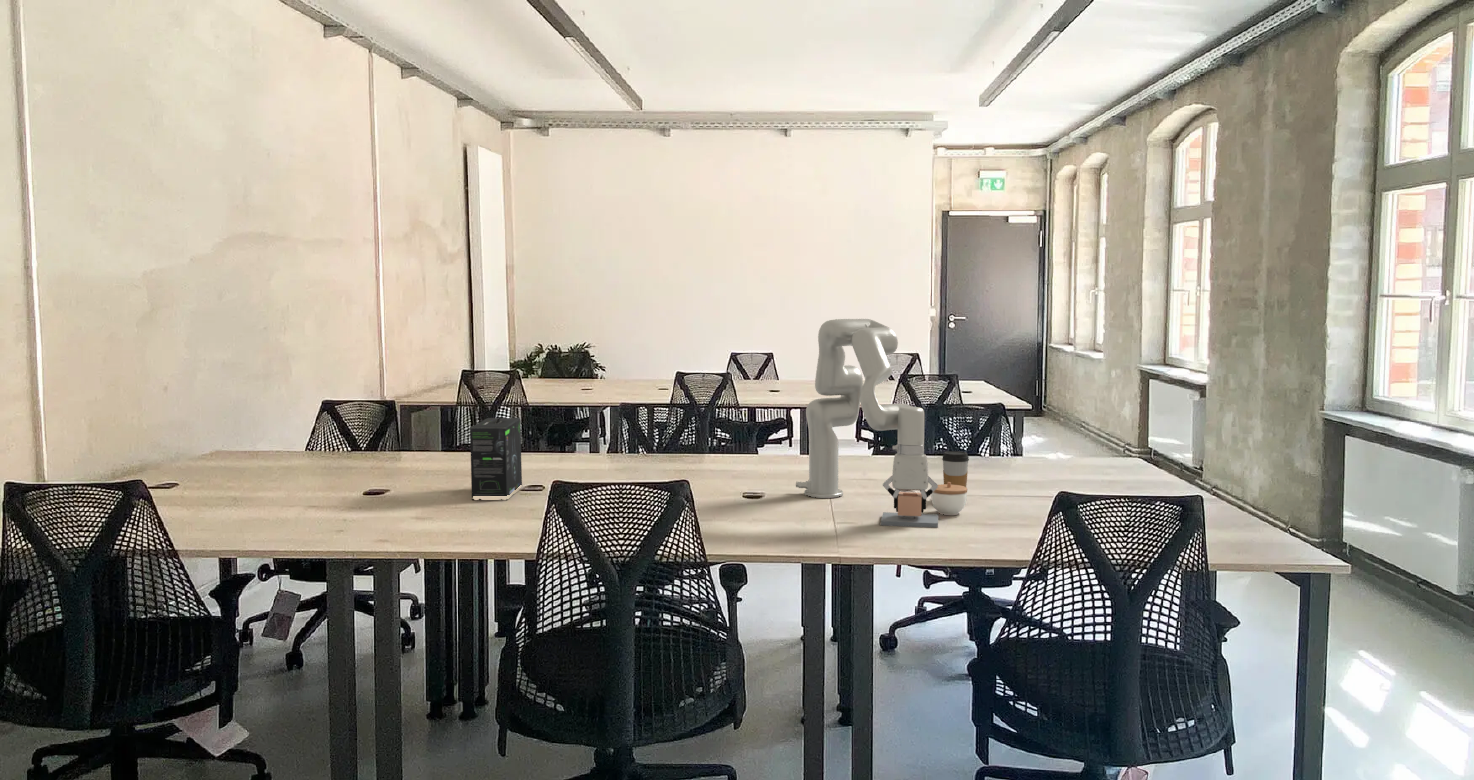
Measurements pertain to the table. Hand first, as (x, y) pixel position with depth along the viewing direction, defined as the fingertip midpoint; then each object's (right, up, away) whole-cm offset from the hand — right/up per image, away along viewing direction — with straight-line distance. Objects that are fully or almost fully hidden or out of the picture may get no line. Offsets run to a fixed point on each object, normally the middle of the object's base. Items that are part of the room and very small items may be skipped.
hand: (909, 510), depth 305 cm
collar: (0, -1, 0) cm, 1 cm away
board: (0, -3, 0) cm, 3 cm away
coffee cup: (+20, 0, +32) cm, 37 cm away
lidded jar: (+14, -2, +12) cm, 18 cm away
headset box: (-129, 0, +44) cm, 136 cm away
